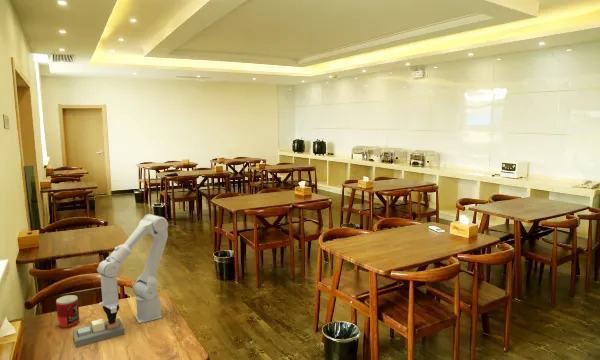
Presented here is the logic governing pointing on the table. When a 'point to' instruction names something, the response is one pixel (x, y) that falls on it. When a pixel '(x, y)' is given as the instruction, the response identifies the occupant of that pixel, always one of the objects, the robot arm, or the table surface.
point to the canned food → (67, 311)
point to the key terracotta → (112, 325)
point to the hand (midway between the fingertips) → (112, 323)
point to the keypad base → (98, 334)
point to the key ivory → (98, 325)
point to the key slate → (84, 331)
